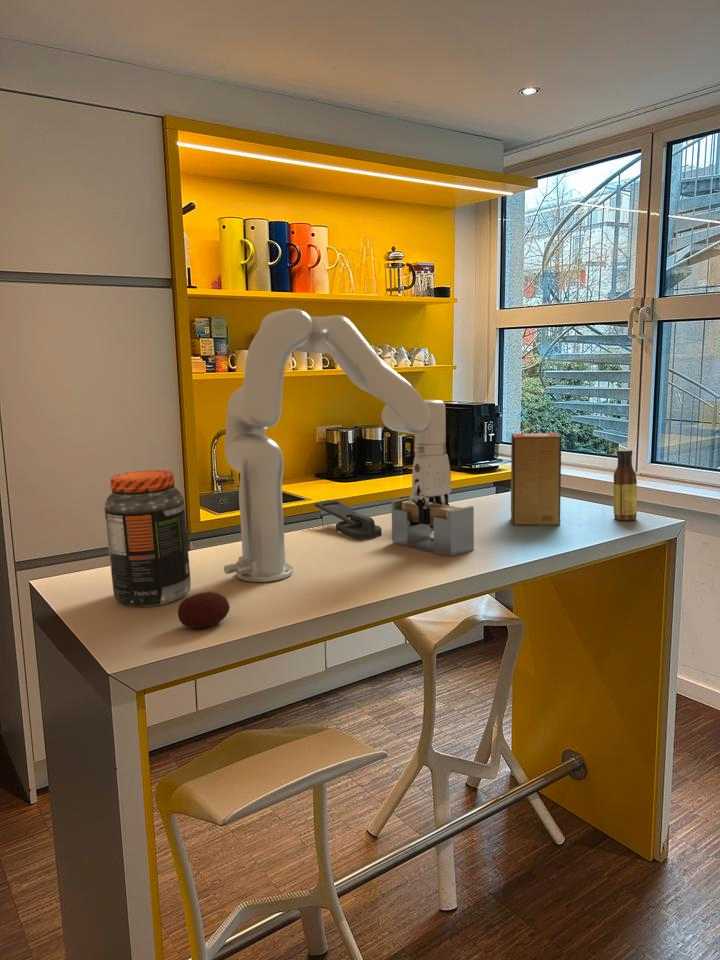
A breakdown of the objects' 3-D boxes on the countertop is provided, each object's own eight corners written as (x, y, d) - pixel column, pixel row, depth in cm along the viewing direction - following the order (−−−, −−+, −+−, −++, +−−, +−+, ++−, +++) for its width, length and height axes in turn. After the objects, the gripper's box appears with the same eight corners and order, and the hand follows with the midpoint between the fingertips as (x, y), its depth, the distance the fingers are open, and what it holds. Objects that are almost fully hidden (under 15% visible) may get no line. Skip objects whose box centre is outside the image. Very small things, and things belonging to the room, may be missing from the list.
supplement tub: (172, 580, 165) (163, 465, 161) (204, 596, 153) (196, 473, 148) (101, 595, 155) (90, 474, 151) (130, 615, 143) (118, 484, 139)
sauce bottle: (640, 518, 210) (642, 449, 206) (631, 522, 205) (633, 452, 202) (617, 515, 214) (619, 447, 211) (608, 519, 209) (610, 450, 206)
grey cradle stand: (451, 557, 176) (450, 512, 175) (392, 542, 191) (391, 501, 189) (473, 549, 182) (473, 506, 180) (414, 536, 197) (414, 496, 195)
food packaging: (556, 518, 213) (558, 432, 209) (561, 525, 204) (562, 436, 200) (510, 518, 215) (510, 432, 211) (512, 525, 206) (512, 436, 201)
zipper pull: (337, 498, 218) (386, 512, 198) (338, 520, 219) (386, 536, 199) (311, 502, 214) (358, 517, 193) (311, 524, 215) (358, 541, 194)
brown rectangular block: (449, 529, 178) (449, 510, 177) (402, 519, 190) (401, 501, 189) (462, 526, 181) (461, 507, 180) (414, 516, 193) (414, 499, 192)
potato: (171, 627, 136) (169, 595, 135) (220, 613, 143) (218, 583, 141) (189, 638, 131) (187, 604, 130) (239, 623, 137) (237, 591, 136)
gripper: (418, 455, 174) (419, 530, 177) (464, 447, 185) (464, 518, 188) (395, 452, 179) (397, 525, 183) (441, 445, 191) (442, 514, 194)
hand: (431, 521), depth 185 cm, fingers closed on brown rectangular block, 4 cm apart
